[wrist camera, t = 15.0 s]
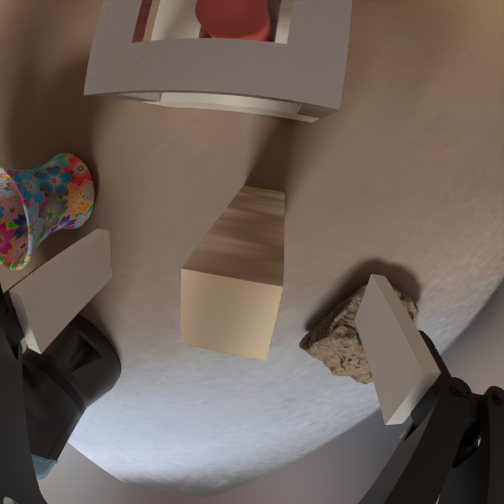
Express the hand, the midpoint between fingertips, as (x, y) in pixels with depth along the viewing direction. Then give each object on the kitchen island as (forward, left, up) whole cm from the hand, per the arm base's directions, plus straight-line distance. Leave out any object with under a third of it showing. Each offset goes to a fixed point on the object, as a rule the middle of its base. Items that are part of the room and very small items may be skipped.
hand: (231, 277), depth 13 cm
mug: (-22, 0, -13) cm, 25 cm away
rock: (+13, -11, -13) cm, 22 cm away
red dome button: (-3, +14, -11) cm, 18 cm away
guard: (-3, +14, -7) cm, 16 cm away
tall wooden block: (0, 0, -13) cm, 13 cm away
